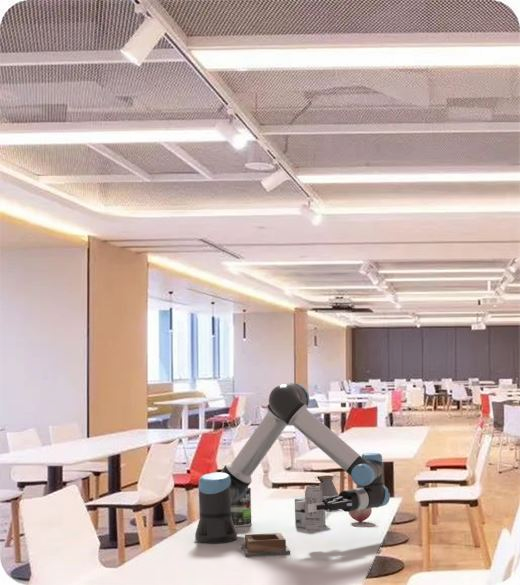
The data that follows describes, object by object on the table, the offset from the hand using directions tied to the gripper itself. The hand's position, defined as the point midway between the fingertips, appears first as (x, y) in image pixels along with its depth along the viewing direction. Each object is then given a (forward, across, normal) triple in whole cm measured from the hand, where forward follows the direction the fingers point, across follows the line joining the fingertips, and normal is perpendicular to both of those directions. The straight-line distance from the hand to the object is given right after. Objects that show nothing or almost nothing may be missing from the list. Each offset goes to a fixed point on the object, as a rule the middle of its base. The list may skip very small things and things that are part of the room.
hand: (302, 507), depth 338 cm
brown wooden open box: (+10, +8, -15) cm, 20 cm away
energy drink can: (-5, 0, -9) cm, 10 cm away
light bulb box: (-32, +34, -15) cm, 49 cm away
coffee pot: (-62, +62, -15) cm, 89 cm away
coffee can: (-13, +56, -16) cm, 60 cm away
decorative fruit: (-50, +26, -15) cm, 58 cm away
